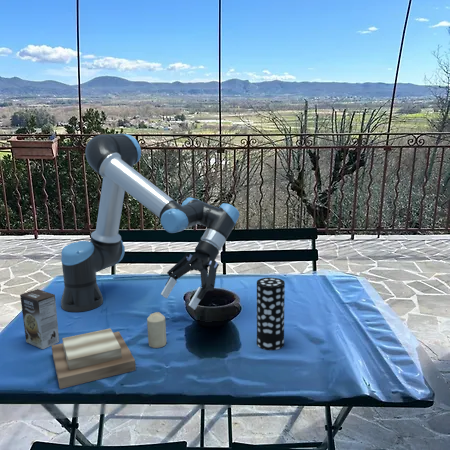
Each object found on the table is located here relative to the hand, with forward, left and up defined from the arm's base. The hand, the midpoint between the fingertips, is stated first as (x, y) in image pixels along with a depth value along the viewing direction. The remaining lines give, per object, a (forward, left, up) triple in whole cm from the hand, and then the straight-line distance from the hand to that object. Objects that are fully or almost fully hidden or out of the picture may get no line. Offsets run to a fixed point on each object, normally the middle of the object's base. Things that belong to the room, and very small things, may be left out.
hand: (177, 301), depth 142 cm
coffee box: (-16, -40, -12) cm, 44 cm away
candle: (+2, -8, -12) cm, 14 cm away
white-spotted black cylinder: (+18, +23, -12) cm, 32 cm away
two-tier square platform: (+4, -28, -12) cm, 30 cm away
